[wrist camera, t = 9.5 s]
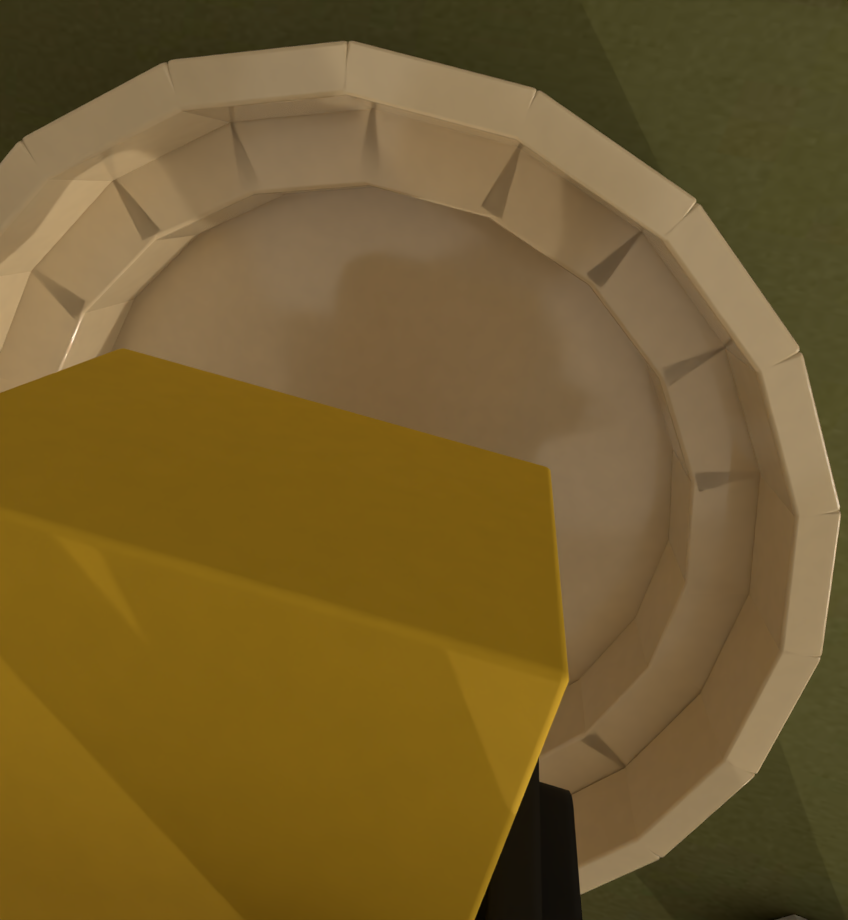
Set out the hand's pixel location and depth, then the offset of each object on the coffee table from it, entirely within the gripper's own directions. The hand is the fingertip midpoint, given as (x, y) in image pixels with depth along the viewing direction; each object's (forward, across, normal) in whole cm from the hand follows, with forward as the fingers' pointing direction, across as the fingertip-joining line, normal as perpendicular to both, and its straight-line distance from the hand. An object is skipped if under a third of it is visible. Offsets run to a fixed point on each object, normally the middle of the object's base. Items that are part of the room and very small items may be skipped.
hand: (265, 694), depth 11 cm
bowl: (+7, 0, 0) cm, 7 cm away
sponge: (+1, 0, 0) cm, 1 cm away
